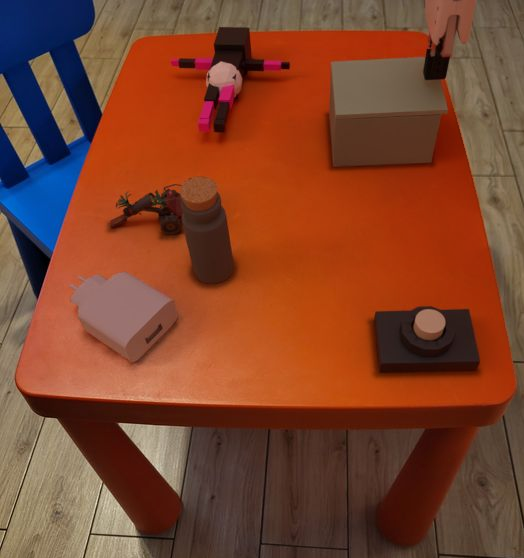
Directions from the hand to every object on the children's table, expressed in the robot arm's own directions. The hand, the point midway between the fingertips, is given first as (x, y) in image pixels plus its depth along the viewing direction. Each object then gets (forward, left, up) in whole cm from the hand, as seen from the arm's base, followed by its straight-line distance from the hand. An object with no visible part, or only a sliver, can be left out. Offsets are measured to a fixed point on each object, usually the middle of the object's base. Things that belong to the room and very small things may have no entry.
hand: (434, 76), depth 92 cm
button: (+5, +41, -7) cm, 42 cm away
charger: (+46, +35, -11) cm, 59 cm away
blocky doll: (+33, -13, -11) cm, 37 cm away
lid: (+7, 0, -2) cm, 7 cm away
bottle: (+33, +27, -11) cm, 44 cm away
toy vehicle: (+42, +17, -11) cm, 47 cm away
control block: (+5, +41, -11) cm, 43 cm away
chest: (+7, 0, -11) cm, 13 cm away
